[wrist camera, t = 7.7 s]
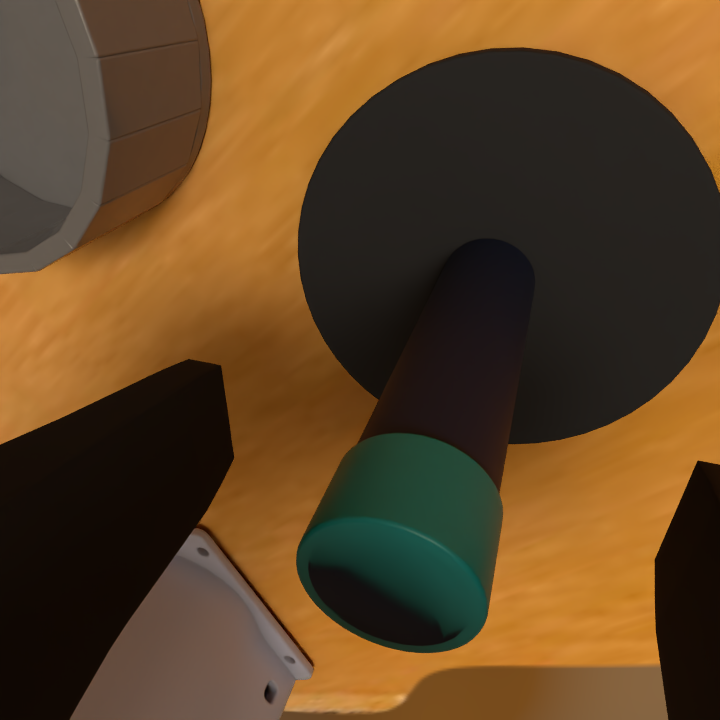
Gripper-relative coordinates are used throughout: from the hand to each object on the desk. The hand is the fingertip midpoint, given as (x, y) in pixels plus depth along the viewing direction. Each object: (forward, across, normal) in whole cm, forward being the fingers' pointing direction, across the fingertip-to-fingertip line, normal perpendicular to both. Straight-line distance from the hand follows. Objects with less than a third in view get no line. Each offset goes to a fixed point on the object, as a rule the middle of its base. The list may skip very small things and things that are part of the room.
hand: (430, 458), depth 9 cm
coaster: (+7, 0, 0) cm, 7 cm away
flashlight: (+6, 0, 0) cm, 6 cm away
